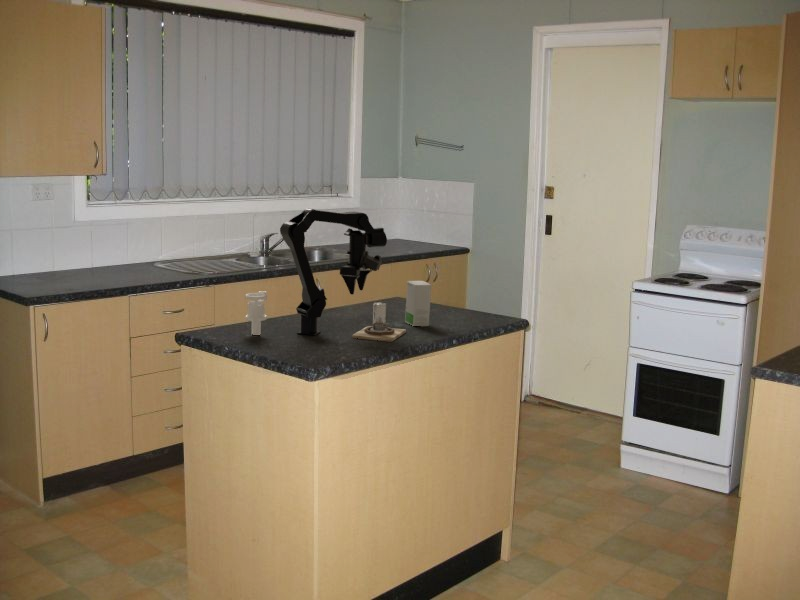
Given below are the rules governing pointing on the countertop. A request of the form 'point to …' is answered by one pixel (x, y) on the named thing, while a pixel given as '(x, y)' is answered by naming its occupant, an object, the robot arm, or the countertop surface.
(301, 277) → the robot arm
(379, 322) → the aluminium hub pin
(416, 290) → the skincare box
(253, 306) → the grey stepped cylinder
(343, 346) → the countertop surface
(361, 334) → the maple board
